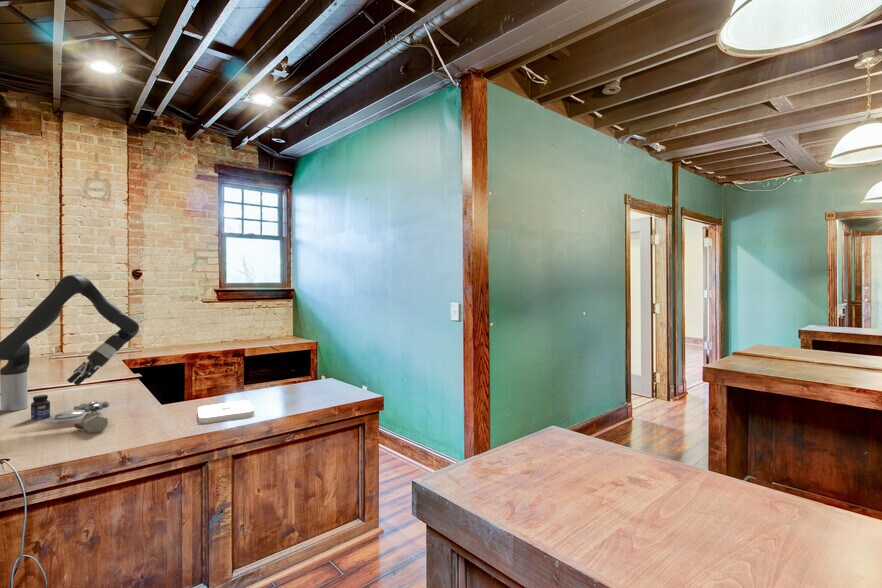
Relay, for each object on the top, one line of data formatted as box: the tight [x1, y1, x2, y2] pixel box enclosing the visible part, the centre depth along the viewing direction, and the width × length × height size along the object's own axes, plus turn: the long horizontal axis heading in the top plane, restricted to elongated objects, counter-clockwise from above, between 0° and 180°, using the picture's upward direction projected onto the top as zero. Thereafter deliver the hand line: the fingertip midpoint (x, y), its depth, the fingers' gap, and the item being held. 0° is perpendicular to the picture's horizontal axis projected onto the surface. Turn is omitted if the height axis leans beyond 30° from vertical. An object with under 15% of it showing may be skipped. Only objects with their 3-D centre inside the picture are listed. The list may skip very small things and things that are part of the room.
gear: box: [73, 401, 110, 412], centre depth 201 cm, size 13×13×3 cm
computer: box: [197, 400, 255, 424], centre depth 196 cm, size 22×22×3 cm
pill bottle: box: [30, 394, 51, 421], centre depth 186 cm, size 6×6×11 cm
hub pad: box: [54, 410, 85, 419], centre depth 189 cm, size 10×10×1 cm
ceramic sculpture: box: [73, 410, 109, 434], centre depth 174 cm, size 11×9×15 cm
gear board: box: [45, 403, 110, 424], centre depth 193 cm, size 24×17×2 cm
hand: (72, 383), depth 195 cm, fingers open, 8 cm apart
